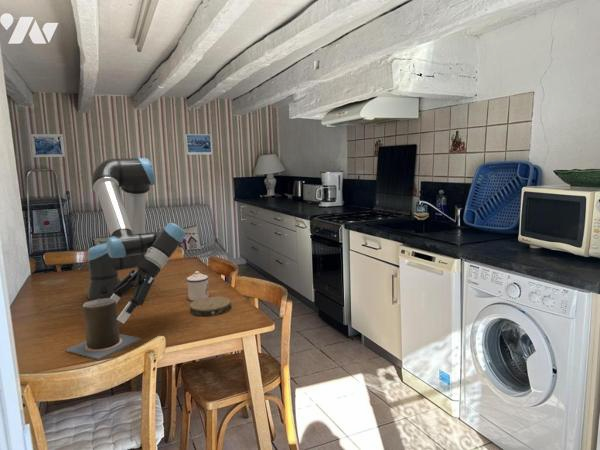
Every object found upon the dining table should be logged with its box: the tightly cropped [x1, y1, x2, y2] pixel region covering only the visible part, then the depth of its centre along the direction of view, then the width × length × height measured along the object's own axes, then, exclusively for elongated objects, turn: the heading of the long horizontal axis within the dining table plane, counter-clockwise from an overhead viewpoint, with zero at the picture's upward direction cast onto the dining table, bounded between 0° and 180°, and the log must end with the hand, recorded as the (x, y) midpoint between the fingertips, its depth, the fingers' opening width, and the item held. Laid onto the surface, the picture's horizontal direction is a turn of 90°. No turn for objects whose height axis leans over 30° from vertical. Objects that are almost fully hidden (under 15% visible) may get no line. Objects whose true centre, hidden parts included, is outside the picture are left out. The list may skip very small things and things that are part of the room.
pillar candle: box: [82, 298, 120, 349], centre depth 138 cm, size 10×10×15 cm
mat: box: [64, 333, 142, 361], centre depth 139 cm, size 16×16×1 cm
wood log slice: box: [189, 296, 232, 317], centre depth 169 cm, size 16×16×3 cm
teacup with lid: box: [186, 270, 210, 302], centre depth 186 cm, size 12×9×12 cm
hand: (112, 316), depth 140 cm, fingers open, 13 cm apart
